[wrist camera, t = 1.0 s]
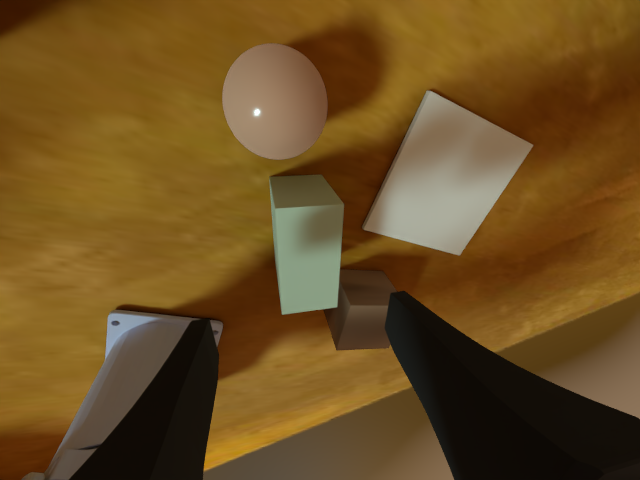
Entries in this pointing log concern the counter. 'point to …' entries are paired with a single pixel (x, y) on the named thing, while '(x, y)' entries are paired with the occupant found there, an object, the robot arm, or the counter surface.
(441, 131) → the plate
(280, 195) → the sage brick
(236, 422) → the counter surface
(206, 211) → the counter surface
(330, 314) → the walnut cube
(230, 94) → the pink cylinder
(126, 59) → the counter surface
